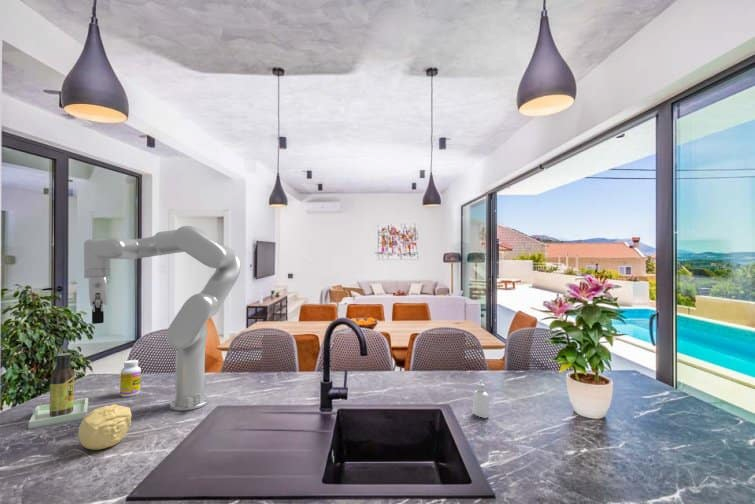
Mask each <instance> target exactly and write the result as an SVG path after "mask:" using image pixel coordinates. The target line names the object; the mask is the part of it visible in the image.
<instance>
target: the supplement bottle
mask: <svg viewBox="0 0 755 504" xmlns="http://www.w3.org/2000/svg"><path fill="white" fill-rule="evenodd" d="M123 365H124V367H123V368H122V369H121V370H120V385H119V387H120V388H119V395H120V396H121V397H122V398H123V397H125V398H126V397H134V396H136V395H140V393H141V383H142V382H141V377H142V368H141V367H140V366H139V360H137V359H129V360H125V361H124V362H123Z"/></svg>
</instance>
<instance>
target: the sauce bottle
mask: <svg viewBox="0 0 755 504" xmlns="http://www.w3.org/2000/svg"><path fill="white" fill-rule="evenodd" d="M55 360H56V361H55V362H56V363H55V365H56V366H55V369H54V371H53V373H52V374H51V376H50V387H49V404H50V409H49V410H50V416H52V417H56V416H62V415H66V414H69V413H71V412H72V411H73V406H74V400H75V379H76V376H75V371H74V370H73V369H72V368H71V365H72V364H71V360H72V353H71V352H70V353H69V352H67V353H58V354H56V355H55Z"/></svg>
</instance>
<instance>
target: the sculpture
mask: <svg viewBox="0 0 755 504" xmlns="http://www.w3.org/2000/svg"><path fill="white" fill-rule="evenodd" d="M132 414H133V413H132V412H131V408H130V407H129V406H125V405H119V404H116V403H112V404H111V405H105V406H101V407H97V408H96V409H93V410H92V411H91V412H89V413H87V415H86V416H85V418H84V419H81V421H80V422H81V423H80V425H79V426H78V433H77V434H78V436H77V437H78V440H79V443H80V444H81V446H82V447H84V448H86V449H87V450H94V451H98V450H103V449H107V448H110V447H114V446H115V445H117V444H119V443H120V441H122V440H123V439H124V437H125V436H126V434H127V433H128V432H127V431H129V428H130V427H131V425H132Z"/></svg>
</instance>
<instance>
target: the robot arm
mask: <svg viewBox="0 0 755 504" xmlns="http://www.w3.org/2000/svg"><path fill="white" fill-rule="evenodd" d="M177 253H185V254H187V255H189V256H191V257H192V258H194V259H195V260H197V261H198V262H199V263H201V264H202V265H204V266H206V267H208V268H211V269H215V271H214V273H213V274H212V275H211V277H210V278H209V280H208V281H207V283H206V284H205V286H204V287H203V289H202V290H201V291H200V292H199V293H195V294H194V295H191V296H190V297H189V298H188V299H186V301H184V303H183V305H182V306H181V307H180V309H179V311H178V312H177V314H176V315H175V316H174V318H173V320H172V321H171V323H170V324H169V327H168V328H167V330H166V335H165V338H166V342H167V343H168V345H169V346H170V347H171V348H173V349H176V353H175V379H174V380H175V381H174V382H175V383H174V399H173V400H172V401H171V402H170V403H169V408H170V409H171V410H173V411H178V412H179V411H180V412H181V411H190V410H191V411H192V410H196V409H199V408H202V407H204V406H206V405H207V404H208V403H209V397H208V396H206V395H205V366H206V365H205V363H206V343H207V335H208V326H207V321H208V320H209V319H210V318H212V317H214V316H215V315H216V314H217V313H218V312H219V310H220V308H222V305H223V303H224V302H225V300H226V299H227V297H228V295H229V294H230V292H231V291H232V289H233V287H234V285H236V282H237V280H238V279H239V276H240V272H241V262H240V258H239V256H238V254H237V253H236V252H235V250H234V249H232V248H231V247H229V246H227V245H225V244H224V245H223V244H218V243H217V242H215V241H213V240H212V239H210V238H209V237H208V236H207V234H206V232H205V231H204V230H203V229H201V228H199V227H197V226H191V225H182V226H180V227H178V228H177V229H173V230H171V229H170V230H163V231H158V232H156V233H155V234H154V235H153V236H149V237H143V238H134V239H133V238H132V239H128V238H120V237H113V238H111V237H110V238H107V239H101V238H100V239H99V238H95V239H94V238H91V239H86V240H85V241H84V243H83V279H88V300H89V303H90V306H91V307H92V310H91V324H92V325H97V324H103V323H104V322H105V320H104V319H105V318H104V314H105V313H104V305H105V306H108V304H109V303H108V279H109V278H111V260H137V259H142V258H151V257H155V256H160V257H161V256H164V255H172V254H177ZM107 278H108V279H107Z"/></svg>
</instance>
